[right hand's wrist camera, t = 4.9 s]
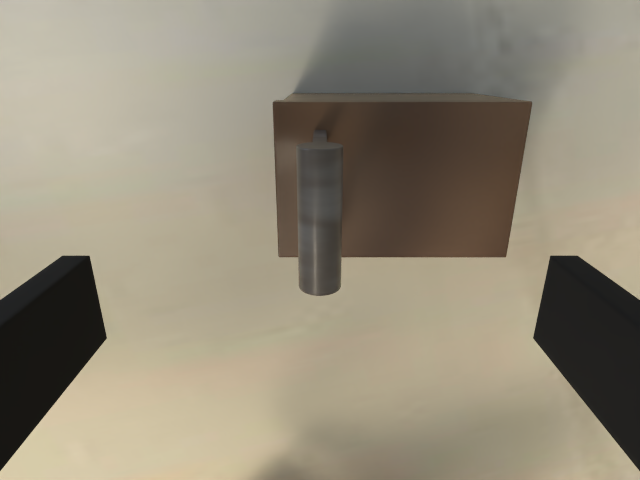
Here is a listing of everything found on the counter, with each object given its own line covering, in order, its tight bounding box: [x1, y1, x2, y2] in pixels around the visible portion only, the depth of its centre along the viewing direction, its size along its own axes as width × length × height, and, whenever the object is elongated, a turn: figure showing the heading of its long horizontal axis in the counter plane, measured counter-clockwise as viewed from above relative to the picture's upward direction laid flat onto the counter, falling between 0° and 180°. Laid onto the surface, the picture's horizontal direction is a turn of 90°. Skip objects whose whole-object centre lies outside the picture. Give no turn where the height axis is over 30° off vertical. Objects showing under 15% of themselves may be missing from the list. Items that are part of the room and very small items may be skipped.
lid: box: [273, 100, 532, 296], centre depth 22 cm, size 14×9×9 cm, turn 90°
